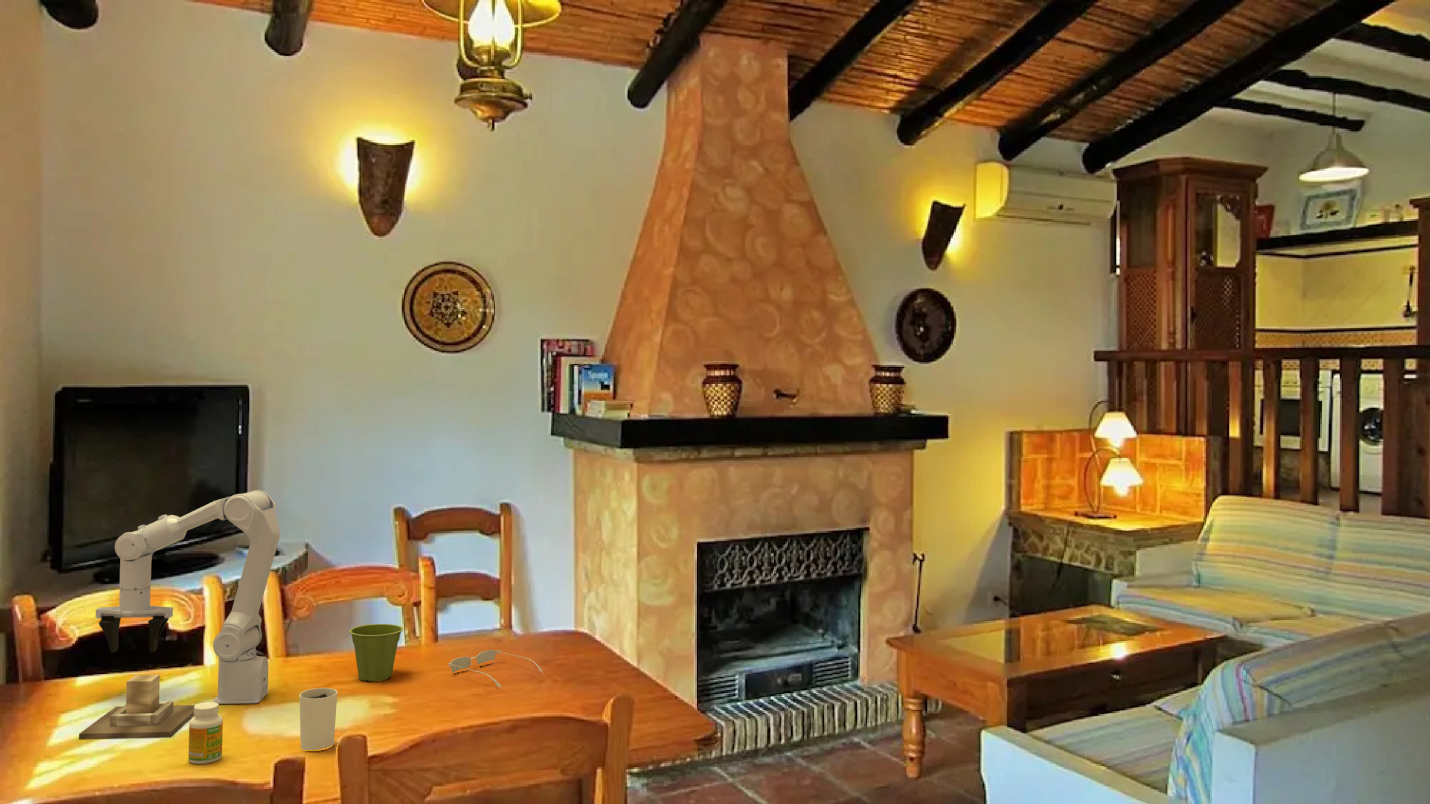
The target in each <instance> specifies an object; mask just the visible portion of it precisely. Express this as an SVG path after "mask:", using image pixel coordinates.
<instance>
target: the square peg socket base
mask: <svg viewBox="0 0 1430 804" xmlns="http://www.w3.org/2000/svg"><path fill="white" fill-rule="evenodd" d="M174 702H175V701H171V700H170V701H159V709H158V710H156V711H155V712H154V713H141V714H126V703H125V704H124V705H123V706H122V705H121V706H118V705H117V706H114V707H113V708H112V709H110V710H109V711H107V712H106V713H105V714H104V715H103V716H100V717H99V718H98V719H97V720H96V721H94V722H93V723H92V724H90V725H89V726H87V727H86V728H84V729H83V730H81V732H79V733H78V740H98V739H99V740H104V739H107V740H108V739H132V738H133V739H137V738H138V739H141V738H142V739H143V738H146V739H147V738H172V737H173V736H174V735H175V734H176V732H178V731H179V730H180V729H181V728H182V727H184V725H185V724H187V722H190V720H191V719H192V718H193V717H195V715H194V706H195V705H196V704H187V705H186V704H183V705H182V704H180V705H177V704H175V705H174Z"/></svg>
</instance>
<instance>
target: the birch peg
mask: <svg viewBox="0 0 1430 804" xmlns="http://www.w3.org/2000/svg"><path fill="white" fill-rule="evenodd" d="M160 677H161V676H160V674H134V676H132V677H131V678H129V679H128V680H126V683H125V684H126V687H125V688H126V689H125V690H126V691H125V692H126V693H125V696H126V697H125V699H126V700H125V704H126V714H141V713H154V712H155V711H156V710H158V709H159V702H160V685H161V684H160V682H161V681H160V680H161V679H160Z"/></svg>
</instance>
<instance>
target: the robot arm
mask: <svg viewBox="0 0 1430 804" xmlns="http://www.w3.org/2000/svg"><path fill="white" fill-rule="evenodd" d="M271 497H272V496H270V495H269V494H268V493H267V492H266V491H264V490H262V489H255V490H254V489H253V490H251V491H249V492H244V493H237V494H234V495H232V496H226V497H224V498H220V499H217V500H213V501H212V502H209V503H208V504H205V505H204V506H201V507H199V508H197V509H195V510H193V511H191V512H189V513H187V514H184V515H183V516H181V517H180V516H178V515H175V514H174V515H173V514H170V515H169V514H168V515H167V514H162V515H160V516H159V517H158V518H157V520H156V521H154V522H152V523H149V524H147V525H146V524H142V525H139V526H137V530H135V531H131V532H130V531H128V532H124V533H122V535H120V536H119V537H118V538H117V539H116V540H115V543H114V550H115V553H116V556H117V557H118V558H119V559H120V565H119V598H118V599H119V602H118V606H105V607H97V608H96V609H95V619H100V621H98V626H99V627H100V628H101V630H102V632H103V633H104V635H105V638H106V640H107V644H108V646H109V651H110V653H111V654H112V653H113V654H114V653H116V652H118V651H119V644H120V643H119V632H120V625H121V620H122V619H121V618H151V619H149V620H148V621H147V623H148V624H147V625H148V632H149V648H148V650H149V653H155V652H156V651H157V649H158V644H159V642H160V638H161V635H162V633H163V631H164V628H165V627H166V625H167V624H168V621H169V620H170V618H172V617H173V616H174V607H173V606H158V605H151V590H152V589H151V587H152V586H151V583H152V579H151V578H152V559H153V554H154V553H155V552H157V551H159V550H161V549H164V548H166V547H169V546H170V545H173V544H175V543H177V542H180V541H182V540H184V539H185V536H186V534H187V531H189V530H192V529H194V528H196V527H200V526H201V525H205V524H206V523H209V522H211V521H214V520H218V519H219V520H221V521H226V520H228V521H229V522H230V523H231V524H233V525H234V526H236V528H238V529H239V530H241V531H242V532H244V533H245V535H246V536H247V538H248V539H249V540H250V543H249V547H248V551H247V555H246V558H245V561H244V566H243V568H242V571H241V575H240V579H239V584H238V585H237V587H238V588H237V591H236V594H235V598H234V601H233V605H232V609H231V611H230V613H229V615H228V616H227V617H226V619H225V621H223V623H222V627H221V630H220V631H219V632H218V634H216V636H215V637H214V640H213V644H212V647H213V648H212V649H213V651H214V654H215V655H216V656H217V657H218V668H217V669H218V671H217V672H218V675H217V676H218V678H217V679H218V680H217V696H215V697H214V698H213V699H212V700H211V701H210V702H215V703H218V704H219V705H222V704H223V705H227V704H228V705H229V704H230V705H235V704H239V705H240V704H259V703H260V702H261V701H262V700H263V699H264V697H266V695H267V694H268V693H269V692H270V691H269V660H268V658H267V657H266V656H259V655H257V650H256V647H257V646H258V645H260V643H261V640H262V635H263V634H262V629H261V626H262V620H263V619H262V617H261V616H260V614H259V613H260V609H261V606H262V602H263V598H264V595H265V591H266V588H267V583H268V580H269V577H270V573H271V569H272V566H273V562H274V559H275V556H276V552H277V548H278V545H279V541H280V538H281V532H280V527H279V523H278V519H277V518H278V517H277V516H276V509H277V504H276V503H275V501H274V500H273V499H272V498H271Z"/></svg>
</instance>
